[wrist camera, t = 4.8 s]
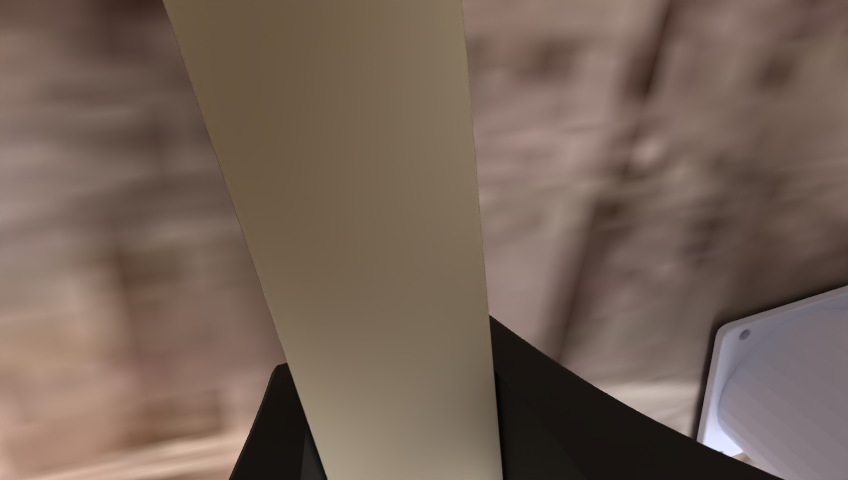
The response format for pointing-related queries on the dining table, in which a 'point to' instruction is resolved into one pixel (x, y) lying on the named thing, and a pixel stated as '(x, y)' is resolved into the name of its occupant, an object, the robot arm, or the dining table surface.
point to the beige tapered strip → (359, 219)
